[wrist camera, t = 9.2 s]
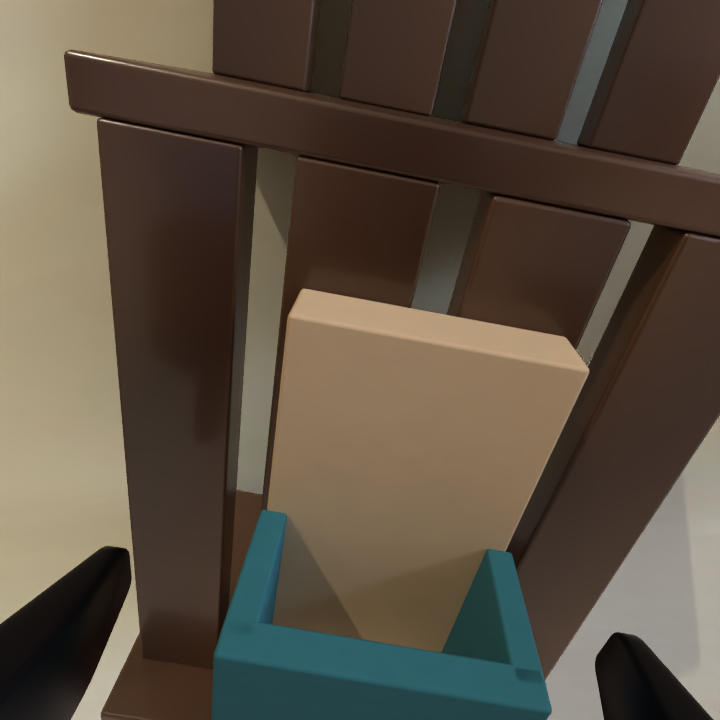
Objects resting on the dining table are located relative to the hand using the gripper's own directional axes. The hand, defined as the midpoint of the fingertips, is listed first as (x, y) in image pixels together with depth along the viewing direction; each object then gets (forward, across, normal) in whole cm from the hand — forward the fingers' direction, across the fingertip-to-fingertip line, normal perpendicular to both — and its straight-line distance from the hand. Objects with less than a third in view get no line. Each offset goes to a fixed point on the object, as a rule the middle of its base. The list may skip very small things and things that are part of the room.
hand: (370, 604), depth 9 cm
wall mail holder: (+2, 0, 0) cm, 2 cm away
